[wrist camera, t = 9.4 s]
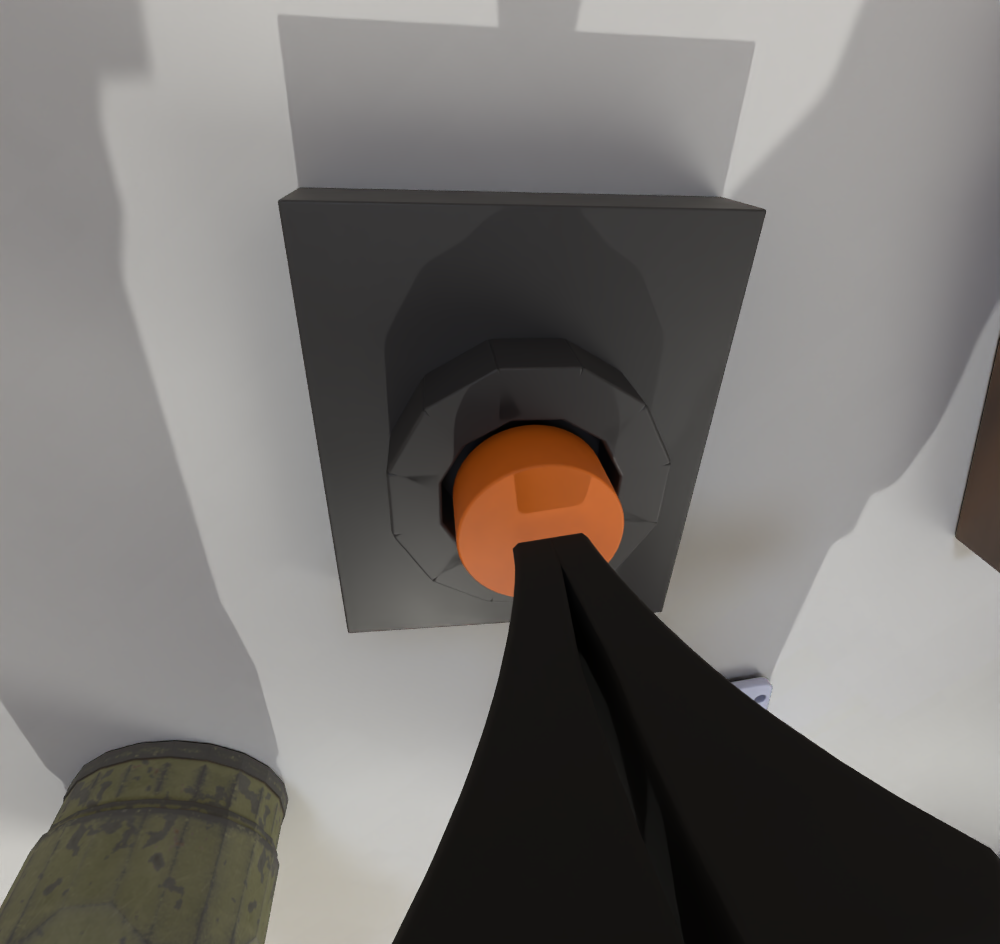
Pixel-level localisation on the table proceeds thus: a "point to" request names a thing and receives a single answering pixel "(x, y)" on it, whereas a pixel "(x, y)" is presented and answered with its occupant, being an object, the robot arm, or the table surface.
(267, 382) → the table surface
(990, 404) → the dial panel
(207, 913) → the thermos
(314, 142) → the table surface
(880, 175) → the table surface
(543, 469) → the button
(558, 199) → the button base
